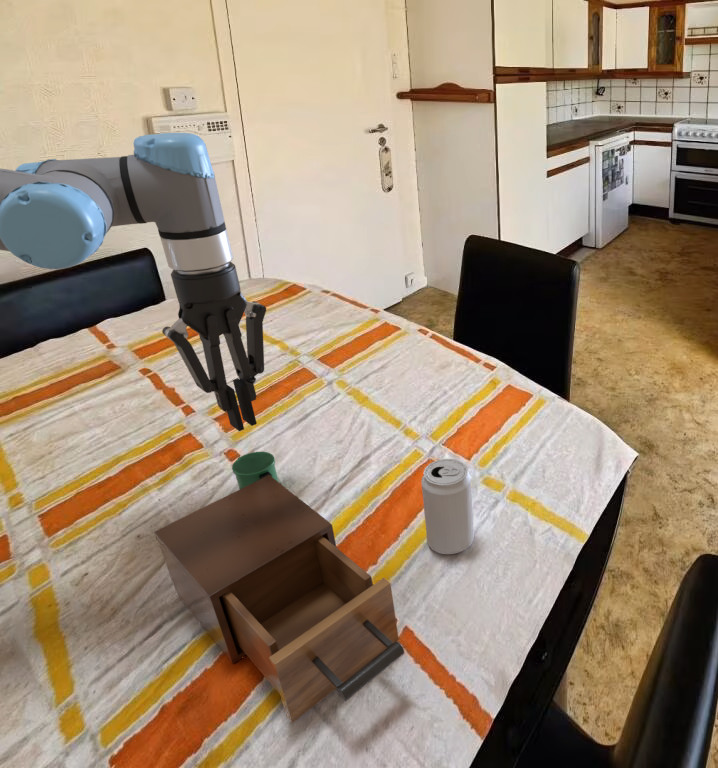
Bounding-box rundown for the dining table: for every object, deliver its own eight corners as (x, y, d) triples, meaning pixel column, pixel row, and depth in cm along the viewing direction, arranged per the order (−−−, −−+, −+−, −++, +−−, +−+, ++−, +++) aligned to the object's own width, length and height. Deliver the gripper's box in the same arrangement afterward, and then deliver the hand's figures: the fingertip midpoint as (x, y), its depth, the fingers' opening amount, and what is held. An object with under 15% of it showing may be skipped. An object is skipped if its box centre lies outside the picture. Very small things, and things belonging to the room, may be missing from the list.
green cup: (230, 490, 96) (221, 461, 93) (266, 473, 100) (259, 444, 97) (255, 512, 91) (246, 482, 89) (291, 493, 95) (285, 464, 93)
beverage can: (431, 525, 88) (424, 456, 83) (476, 526, 88) (472, 456, 82) (424, 558, 83) (416, 485, 77) (472, 558, 83) (468, 486, 77)
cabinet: (344, 589, 78) (332, 524, 73) (233, 664, 69) (209, 596, 64) (284, 536, 87) (269, 474, 82) (178, 596, 78) (153, 531, 72)
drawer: (433, 669, 67) (426, 612, 63) (325, 763, 58) (309, 703, 54) (331, 579, 78) (320, 525, 74) (228, 646, 70) (209, 590, 66)
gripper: (242, 247, 85) (275, 397, 96) (130, 273, 76) (182, 435, 87) (269, 258, 81) (301, 413, 92) (154, 286, 72) (206, 455, 83)
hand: (243, 424), depth 90 cm, fingers closed
